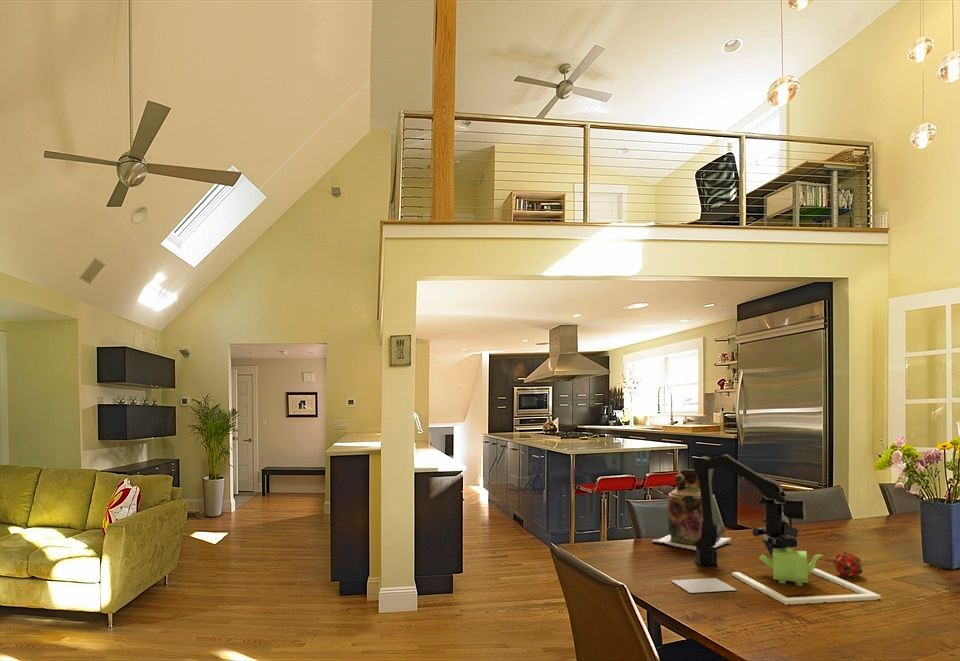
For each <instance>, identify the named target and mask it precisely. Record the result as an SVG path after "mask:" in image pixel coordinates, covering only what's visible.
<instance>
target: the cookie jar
mask: <svg viewBox="0 0 960 661" xmlns="http://www.w3.org/2000/svg"><path fill="white" fill-rule="evenodd" d="M674 482H675V483H676V484H678V486H677V488H675V489H674V490H672V491H670V492H669V493H668V503H667V510H668V511H667V512H668V513H667V514H668V521H667V523H668V524H669V526H668V533H669V534H668V535H666V536H664V537H661V538H658V539H652V540H651V541H652V543H658V544H666V545H669V546H672V547H676V548H681V549H686V550H692V551H696V546H695V543H696V542H697V541H698V540H699V539H700V538H701V528H702V523H703V513H702V503H701V494H700V486H699V485H700V484H699V480H698V478H697V476H696V473H695V470H694V469H688V468H687V469H682V470H680V472H679V473H678V474H676V475H674ZM731 539H732V538H731V537H721V538H720V540H719V541H718V542H717V543H716V544H715V546H713V547H715V548H718V547H721V546H723V545H725V544H730V541H731Z"/></svg>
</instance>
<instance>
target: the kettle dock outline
mask: <svg viewBox="0 0 960 661" xmlns="http://www.w3.org/2000/svg"><path fill="white" fill-rule="evenodd" d="M810 573H812V574H813V573H814V575H816V576H818V577H820V578H822V577H823V579H826V580H827V579H828V580H827V581H829V580H830V581H829V582H831V583H834V582H835V583H834V584H836V583H837V584H836V585H838V584H840V585H839V586H841V585H842V586H841V587H843V586H844V587H843V588H845V587H846V588H845V589H848V588H849V589H848V590H850V589H851V590H850V591H852V590H853V591H852V592H854V591H855V592H854V594H853V593H852V594H851V593H849V594H833V595H815V596H813V595H812V596H799V597H797V596H796V597H787V596H785V595H783V594H781V593H780V592H777V591H775V590H774V589H772V588H770V587H768V586H767V585H764V584H763V583H760V582H759V581H756V580H755V579H753V578H751V577H749V576H747V575H746V574H744V573H742V572H739V571H732V572H731V576H732V577H733V576H734V578H735V577H736V578H735V579H737V578H738V579H737V580H739V579H740V580H739V581H741V582H742V583H744V582H745V584H746V585H749V586H750V587H752V588H754V589H755V588H756V590H757V589H758V591H759V590H760V591H759V592H762V593H763V594H765V595H766V594H767V595H766V596H768V595H769V597H770V596H771V597H770V598H772V597H773V598H772V599H774V600H775V601H777V600H778V601H777V602H779V601H780V602H779V603H781V602H782V603H781V604H783V603H784V605H785V606H787V605H788V604H790V605H805V604H807V603H809V604H824V603H823V602H827V603H839V602H840V603H841V602H842V603H844V602H843V601H845V602H858V601H859V602H860V601H862V600H863V601H876V600H877V599H881V600H882V596H881V595H880V594H878V593H875V592H873V591H871V590H869V589H866V588H863V587H861V586H859V585H856V584H854V583H851V582H850V581H848V580H845V579H843V578H840V577H838V576H835V575H833V574H831V573H828V572H825V571H823V570H821V569H819V568H816V567H814V569H813V571H811V572H810ZM859 593H860V594H859ZM863 601H862V602H863ZM807 605H808V604H807Z"/></svg>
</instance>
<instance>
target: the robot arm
mask: <svg viewBox="0 0 960 661" xmlns="http://www.w3.org/2000/svg"><path fill="white" fill-rule="evenodd" d="M721 467H722V468H723V467H725V468H726V469H727V470H730V471H731V472H733V473H735V474H736V475H738V476H740V477H741V478H743V479H745V480H746V481H747V482H749V483H750V484H752V485H753V486H754V487H756V489H757V490H758V491H759V492H761V494H763V496H762V497H761V499H760V500H759V501H758V504H763V505H764V518H762V522H763V523H765V525H764V526H759V527H753V529H752V536H754V537H759V536H763V539H761V541H762V542H763V544H764V546H765V548H766V550H767V551H768V553H769V555H770V557H771V559H772V560H773V557H772V555H773V548H777V549H781V548H782V547H793V548H795V547H796V548H798V547H799V545H798V543H799V541H798V540H797V538H798V535H799V531H800V529H798V528H795V527H793V526H792V527H790V526H789V524H788V523H787V522H785V521H784V520H782V512H783V513H784V515H785V516H787V518H789V519H792V520H801V521H805V520H806V518H807V517H806V515H807V512H806V511H807V509H806V505H805V500H804V499H789V498H790V497H788V495H787V494H786V493H785V492H784V491H783V485H782V484H781V483H780V482H779V481H777V480H775V479H773V478H770V477H767V476H764V475H761V474H759V473H758V472H756V471H754V470H753V469H751V468H750V467H748V466H746V465H744V464H743V463H741V462H740V461H738V460H737V459H735V458H733V457H732V456H731V455H729V454H723V455H720V456H715V457H709V456H700V457H698V458H696V459H695V460H694V462H693V470H695V473H696V476H697V478H698V480H699V484H698V485H699V488H700V494H701V503H702V513H703V523H702V528H701V538H700V539H699V540H698V541H697V542H696V543H695V546H696V559H695V560H694V563H695V564H697V565H699V566H701V567H718V566H719V564H718V554H717V553H718V552H717V551H716V550H717V549H716V548H717V547H716V548H715V547H713V546H715V544H716V543H717V542H718V541H719V540H720V538H722V535H723V531H722V524H721V523H718V522H717V520H716V514H715V513H716V512H715V506H714V505H715V504H714V497H713V496H714V494H713V488H712V487H713V486H712V485H713V484H712V480H713V479H712V478H713V473H714V469H717V468H721ZM787 535H790V536H792V537H790V536H787ZM776 537H777V538H776Z"/></svg>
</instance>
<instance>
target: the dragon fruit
mask: <svg viewBox="0 0 960 661" xmlns="http://www.w3.org/2000/svg"><path fill="white" fill-rule="evenodd" d="M834 558H835V559H834V561H833V566H834V568H836V572H837V573H839V574H840V576H841V577H842V578H848V576H849V577H853V576H854V578H855V577H857V576H858V575H860V574H862V573H863V567H862V564H861V558H859V557H858V556H855V554H854V553H852V552H851V553H850V552H849V553H848V552H847V551H844V552H842V553H841V554H837V555H836V557H834Z"/></svg>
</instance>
